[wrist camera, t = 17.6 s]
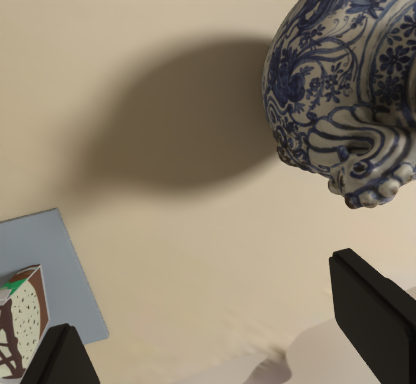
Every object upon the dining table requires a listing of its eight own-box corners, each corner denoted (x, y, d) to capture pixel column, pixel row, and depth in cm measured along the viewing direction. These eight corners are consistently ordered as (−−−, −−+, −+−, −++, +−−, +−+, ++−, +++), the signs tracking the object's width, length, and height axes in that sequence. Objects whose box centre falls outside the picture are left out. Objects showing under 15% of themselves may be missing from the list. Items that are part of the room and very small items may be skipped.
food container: (-9, 256, 42) (-61, 303, 32) (39, 254, 42) (2, 300, 33) (7, 331, 45) (-36, 393, 36) (51, 328, 46) (21, 388, 36)
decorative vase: (326, -42, 37) (741, -384, 10) (401, 80, 42) (789, 64, 16) (196, 87, 39) (258, 81, 13) (283, 185, 45) (448, 320, 19)
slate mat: (-62, 237, 41) (-67, 240, 40) (57, 207, 42) (54, 210, 41) (8, 360, 48) (5, 366, 47) (109, 333, 49) (107, 338, 48)
